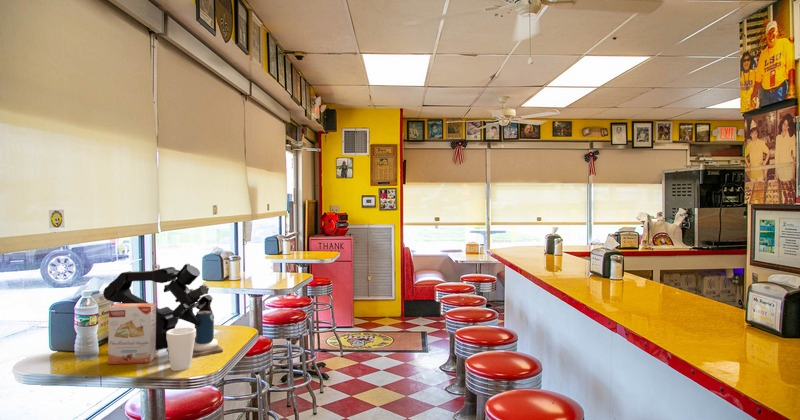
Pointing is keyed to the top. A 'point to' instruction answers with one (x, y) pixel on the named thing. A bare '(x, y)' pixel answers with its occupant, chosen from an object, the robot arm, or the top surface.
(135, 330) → the cracker box
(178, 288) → the robot arm
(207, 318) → the soda can
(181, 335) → the foam cup
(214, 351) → the plinth board
